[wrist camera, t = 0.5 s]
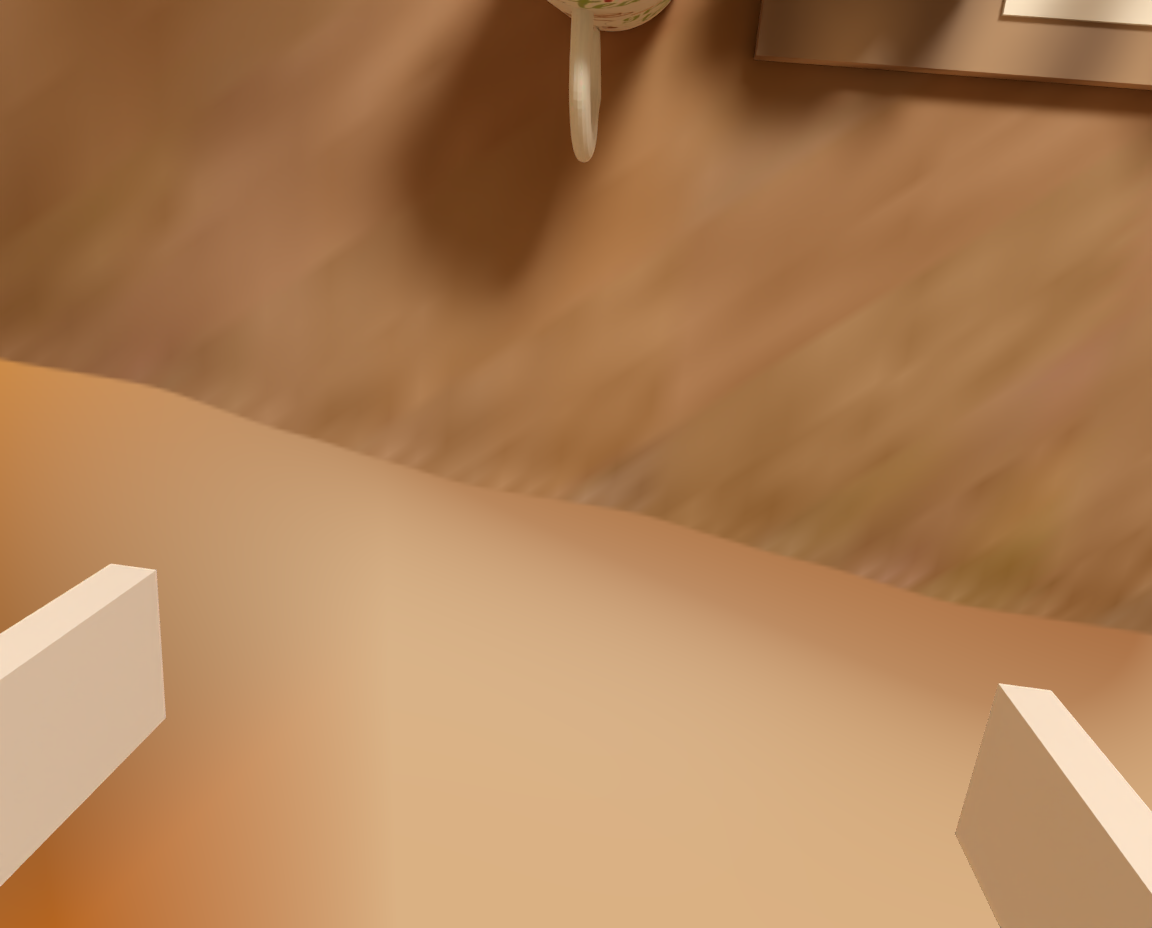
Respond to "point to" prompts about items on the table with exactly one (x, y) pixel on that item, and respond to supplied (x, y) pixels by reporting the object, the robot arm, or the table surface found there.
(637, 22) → the mug
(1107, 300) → the table surface
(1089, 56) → the shaft bed
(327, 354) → the table surface
